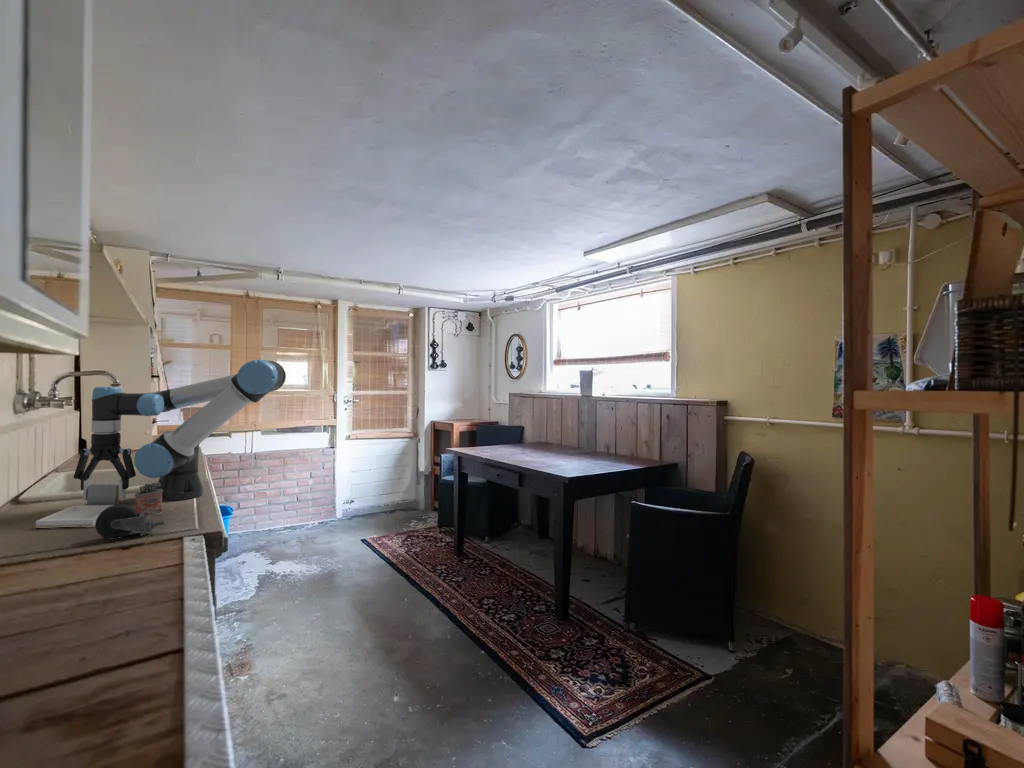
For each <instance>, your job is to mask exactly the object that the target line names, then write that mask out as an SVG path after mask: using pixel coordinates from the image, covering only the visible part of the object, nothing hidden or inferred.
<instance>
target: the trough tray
mask: <svg viewBox="0 0 1024 768" xmlns="http://www.w3.org/2000/svg"><path fill="white" fill-rule="evenodd" d="M110 506H113V505H87V504H86V505H72V506H70V507H67V508H64V509H62V510H59V511H57V512H53V513H52V514H49V515H48V516H44V517H43V518H40V519H37V520H36V521H35V528H36V527H58V526H59V527H61V526H94V525H95V524H96V519H97V518H98V516H99V515H100V513H101V512H102V511H103V510H105V509H106V508H108V507H110ZM94 527H95V526H94Z"/></svg>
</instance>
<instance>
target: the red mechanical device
mask: <svg viewBox="0 0 1024 768" xmlns="http://www.w3.org/2000/svg"><path fill="white" fill-rule="evenodd" d="M159 486H160V482H158V481H156V482H153V483H145V484H144V485H141V486H139V491H140V492H137V493H134V496H135V497H134V498H135V511H136V512H137V513H141V512H145V516H148V517H150V516H149V515H152V516H154V515H153V514H155V515H158V514H157V513H159V514H161V513H160V512H162V513H163V500H162V492H163V489H156V487H159Z"/></svg>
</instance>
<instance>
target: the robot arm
mask: <svg viewBox="0 0 1024 768" xmlns="http://www.w3.org/2000/svg"><path fill="white" fill-rule="evenodd" d="M286 375H287V374H286V371H285V369H284V367H283V366H282V365H281V364H280V363H279V362H276V361H274V360H265V359H254V360H249V361H248V362H245V363H244V364H243V365H242V366H241V367H240V368H239V369H238V372H237V373H235V374H231V375H230V374H229V375H226V376H222V377H218V378H217V377H216V378H213V379H208V380H205V381H201V382H196V383H192V384H186V385H183V386H179V387H175V388H170V389H166V390H162V391H161V390H160V391H155V392H143V393H142V392H141V393H130V392H128V393H127V392H123V390H122V387H120V386H95V387H94V388H93V389H92V397H91V429H90V430H91V432H92V433H91V436H90V437H91V438H90V439H91V441H90V442H91V443H90V444H91V446H90V448H82V449H79V459H78V462H77V466H76V469H75V471H74V474H73V478H74V479H75V480H77V479H78V480H80V490H81V491H83V495H82V496H83V497H82V499H83V500H82V501H87V495H88V490H89V487H90V485H92V479H91V475H92V474H93V473H94V471H95V469H96V468H97V466H98V464H100V462H101V461H108V462H110V463H111V464H112V465H113V467H114V469H115V470H116V471H117V473H118V475H119V477H120V480H118V485H119V500H120V501H121V500H124V499H125V498H127V497H126V496H127V495H126V493H127V489H129V486H130V479H131V478H134V477H136V476H137V475H136V471H135V470H137V471H138V472H139V473H140V474H141V475H142V476H145V477H147V478H151V479H157V478H158V481H157V482H160V486H159V487H156V489H163V492H162V502H164V501H167V502H168V501H170V502H171V501H183V500H188V499H189V500H190V499H193V498H197V497H200V496H202V495H203V494H204V487H203V483H202V481H201V478H200V476H199V475H200V474H199V461H200V460H199V457H200V456H199V455H200V454H199V453H200V444H201V443H202V442H203V441H205V440H206V439H207V438H209V436H211V435H212V434H213V433H214V432H216V431H217V430H218V429H219V428H220V427H222V426H224V424H226V422H227V421H229V420H230V419H232V418H233V417H234V416H235V415H236V414H238V413H239V412H240V411H241V410H243V408H245V407H247V405H249V404H257V403H258V402H259V401H260V400H262V399H263V398H264V397H266V396H267V395H268V394H269V393H271V392H276V391H278V390H279V389H281V388H282V387H283V385H284V384H285V382H286V377H287V376H286ZM206 402H207V403H206ZM202 403H206V404H205V405H204V406H203V407H202V408H200V409H199V410H198V411H196V412H195V413H194V414H193V415H191V416H190V417H189V418H188V419H187V420H185V421H184V422H182V423H181V424H180V425H179V426H178V427H177V428H175V430H166V431H164V432H163V433H162V434H161V435H159V436H158V437H157V438H156V439H154V440H152V442H150V443H146V444H144V445H142V446H140V448H139V449H138V450H137V451H136V452H135V455H134V457H133V459H132V455H131V454H132V449H131V448H122V447H121V437H122V436H121V435H122V434H121V432H120V431H121V427H122V416H139V417H140V416H144V417H151V416H152V417H153V416H159V415H160V414H161V413H167V412H171V411H173V410H177V409H182V408H185V407H189V406H194V405H198V404H202ZM90 454H91V455H92V458H91V459H90V463H89V464H88V465H87V463H88V461H89V456H90ZM119 454H121V456H122V460H123V463H124V464H123V463H122V461H121V458H120V456H119ZM133 461H134V463H133ZM86 466H87V467H86ZM134 466H135V467H134ZM135 468H136V469H135Z"/></svg>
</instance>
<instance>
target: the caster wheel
mask: <svg viewBox="0 0 1024 768" xmlns="http://www.w3.org/2000/svg"><path fill="white" fill-rule="evenodd" d="M162 525H165V520H160V521H156V522H155V521H152V519H151V518H148V519H147V518H146V516H145V512H141V513H137V512H136V509H135V508H133V507H132V506H129V505H126V504H118V505H113V506H110V507H108V508H106V509H105V510H103V511H102V512H101V513H100V515H99V516H98V518H97V519H96V524H95V526H94V528H95V530H96V532H97V534H98V535H100V537H102V538H104V539H108V538H119V537H122V538H124V536H125V537H127V536H128V535H129V534H131V533H133V532H138V533H140V536H141V535H145V536H146V532H147V533H151V532H152V531H153V529H154V528H155V527H158V526H162ZM119 539H120V538H119Z"/></svg>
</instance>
